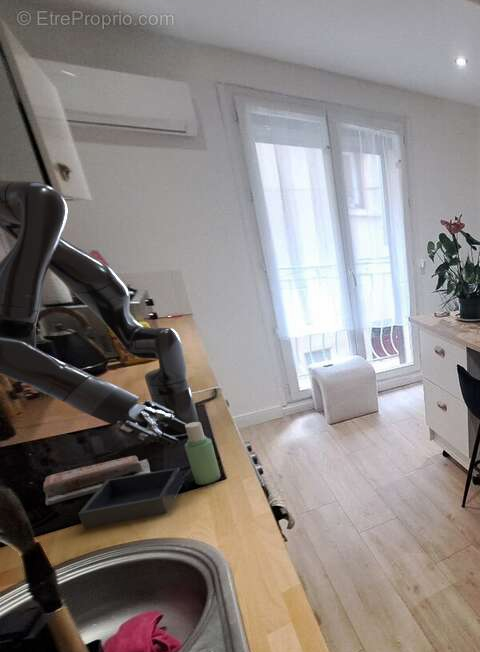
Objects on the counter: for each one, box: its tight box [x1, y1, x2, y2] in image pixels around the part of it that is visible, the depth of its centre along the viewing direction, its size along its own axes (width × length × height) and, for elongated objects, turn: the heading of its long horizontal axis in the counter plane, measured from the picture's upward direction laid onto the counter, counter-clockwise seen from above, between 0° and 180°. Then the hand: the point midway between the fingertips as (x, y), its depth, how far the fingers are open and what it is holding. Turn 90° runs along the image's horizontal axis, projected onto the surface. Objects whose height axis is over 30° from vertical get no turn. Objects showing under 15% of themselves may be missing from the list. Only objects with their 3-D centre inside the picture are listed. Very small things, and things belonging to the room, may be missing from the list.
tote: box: [77, 467, 184, 530], centre depth 94 cm, size 14×14×5 cm
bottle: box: [184, 421, 222, 486], centre depth 102 cm, size 5×5×16 cm
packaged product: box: [42, 455, 151, 506], centre depth 101 cm, size 18×5×10 cm
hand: (182, 436), depth 99 cm, fingers open, 8 cm apart
